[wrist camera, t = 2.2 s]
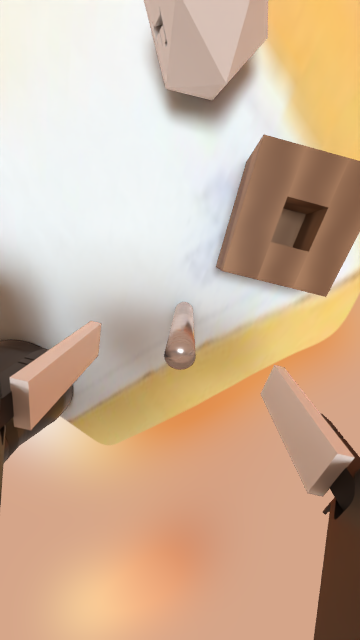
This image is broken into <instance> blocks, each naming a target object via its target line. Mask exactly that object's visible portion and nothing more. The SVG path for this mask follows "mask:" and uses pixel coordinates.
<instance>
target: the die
mask: <svg viewBox="0 0 360 640" xmlns="http://www.w3.org/2000/svg"><path fill="white" fill-rule="evenodd" d="M144 3H145V7H146V11H147V15H148V19H149V23H150V27H151V31H152V35H153V39H154V43H155V47H156V51H157V55H158V59H159V64H160V68H161V72H162V76H163V80H164V84H165V88H166V89H169V90H173V91H177V92H180V93H184V94H188V95H192V96H196V97H200V98H204V99H208V100H213V99H214V98H215V97H216V96H217V95H218V94H219V92H220V91H221V90H222V89H223V88H224V87H225V86H226V84H227V83H228V82H229V81H230V80H231V79H232V78H233V76H234V75H235V74H236V73H237V72H238V71H239V70H240V69H241V67H242V66H243V65H244V64H245V63H246V62H247V61H248V59H249V58H250V57H251V56H252V55H253V54H254V53H255V51H256V50H257V49H258V48H259V47H260V46H261V45H262V44H263V42H264V41H265V40H266V39H267V38H268V0H144Z"/></svg>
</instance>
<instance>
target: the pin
mask: <svg viewBox="0 0 360 640" xmlns="http://www.w3.org/2000/svg"><path fill="white" fill-rule="evenodd" d="M164 357H165V361H166V362H167V364H168V365H169V366H170V367H172V368H174V369H180V370H181V369H186V368H188V367H190V366H191V365H192V364H193V363H194V361H195V339H194V321H193V308H192V306H191V305H190V304H189V303H187V302H181V303H179V304H178V305H177V306H176V308H175V312H174V317H173V321H172V325H171V329H170V333H169V337H168V341H167V345H166V349H165V354H164Z"/></svg>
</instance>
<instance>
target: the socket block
mask: <svg viewBox="0 0 360 640" xmlns="http://www.w3.org/2000/svg"><path fill="white" fill-rule="evenodd" d="M359 232H360V161H357V160H354V159H350V158H346V157H343V156H339V155H336V154H332V153H328V152H325V151H321V150H318V149H314V148H310V147H307V146H303V145H300V144H296V143H292V142H289V141H285V140H282V139H278V138H274V137H271V136H267V135H263V137H262V138H261V140H260V141H259V143H258V145H257V146H256V148H255V149H254V151H253V152H252V154H251V155H250V157H249V159H248V160H247V162H246V165H245V169H244V172H243V176H242V179H241V183H240V186H239V189H238V193H237V196H236V200H235V203H234V206H233V210H232V213H231V217H230V220H229V224H228V227H227V230H226V234H225V237H224V241H223V244H222V248H221V251H220V254H219V258H218V261H217V265H216V267H217V268H219V269H220V270H222V271H225V272H229V273H233V274H237V275H241V276H245V277H249V278H253V279H257V280H261V281H265V282H269V283H273V284H277V285H281V286H285V287H289V288H293V289H297V290H301V291H305V292H309V293H313V294H317V295H321V296H325V297H326V296H327V294H328V292H329V290H330V288H331V286H332V284H333V282H334V280H335V278H336V277H337V275H338V273H339V271H340V269H341V267H342V265H343V263H344V261H345V259H346V257H347V255H348V253H349V251H350V249H351V247H352V245H353V243H354V241H355V240H356V238H357V236H358V234H359Z"/></svg>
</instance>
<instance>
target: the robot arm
mask: <svg viewBox="0 0 360 640" xmlns="http://www.w3.org/2000/svg"><path fill="white" fill-rule="evenodd" d="M100 332H101V323H98V322H94V321H90V322H89V323H87V324H86V325H84V326H83V327H82V328H80V329H79V330H77V331H76V332H74V333H73V334H71V335H70V336H69V337H67V338H66V339H64V340H63V341H61V342H60V343H58V344H57V345H56V346H54V347H53V348H51V349H50V350H48V349H43V348H41V347H39V346H37V345H34V344H31V343H28V342H25V341H19V340H5V341H0V505H1V489H2V475H3V464H4V462H5V461H6V460H7V459H8V458H9V456H10V455H11V454H12V453H13V452H14V451H15V450H16V449H17V448H18V446H19V445H21V444H22V443H24V442H25V441H27V440H28V439H29V438H31V437H32V436H34V435H35V434H37V433H38V432H39V431H41V430H42V429H43V428H45V427H46V426H47V425H49V424H50V423H52V422H54V421H55V420H56V419H57V418H58V417H59V416H60V415H61V414H62V413H63V411H64V410H65V409H66V407H67V406H68V405H69V403H70V401H71V398H72V393H73V388H72V384H73V383H74V382H75V381H76V380H77V378H78V377H79V376H80V375H81V374H82V373H83V372H84V371H85V370H86V368H87V367H88V366H89V365H90V364H91V363H92V362H93V361H94V360H95V358H96V357H97V356H98V353H99V343H100ZM261 396H262V398H263V400H264V402H265V405H266V406H267V409H268V411H269V413H270V415H271V417H272V419H273V421H274V423H275V426H276V428H277V430H278V432H279V434H280V436H281V438H282V440H283V443H284V445H285V447H286V449H287V451H288V453H289V455H290V457H291V459H292V462H293V464H294V466H295V468H296V470H297V472H298V474H299V476H300V478H301V481H302V483H303V485H304V487H305V489H306V491H307V493H309V494H314V495H318V496H324V495H325V493H326V492H327V491H328V490H329V489H331V491H332V493H333V495H334V496H335V497H334V499H333V500H332V501H331V502H330V503H329V505H328V506H327V507H326V508H325V509H324V511H323V513H324V514H327V512H330V514H329V523H328V530H327V538H326V546H325V555H324V562H323V570H322V578H321V586H320V594H319V602H318V610H317V618H316V626H315V634H314V640H360V457H359V456H358V455H357V453H356V452H355V451H354V450H353V448H352V447H351V446H350V445H349V444H348V442H347V441H346V440H345V439H343V436H342V435H341V434H340V432H338V430H337V429H336V427H335V426H334V425H333V424H332V423H331V421H329V420H328V419H327V418H326V417H325V416H324V415H323V414H321V413H319V411H318V410H317V409H316V407H315V406H314V405H313V404H312V402H311V401H310V400H309V398H308V397H307V396H306V395H305V393H304V392H303V391H302V390H301V388H300V387H299V386H298V384H297V383H296V382H295V381H294V379H293V378H292V377H291V375H290V374H289V373H288V372H287V370H286V369H285V368H284V367H280V366H276V365H274V367H273V369H272V371H271V373H270V375H269V377H268V379H267V382H266V383H265V385H264V388H263V390H262V392H261Z"/></svg>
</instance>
